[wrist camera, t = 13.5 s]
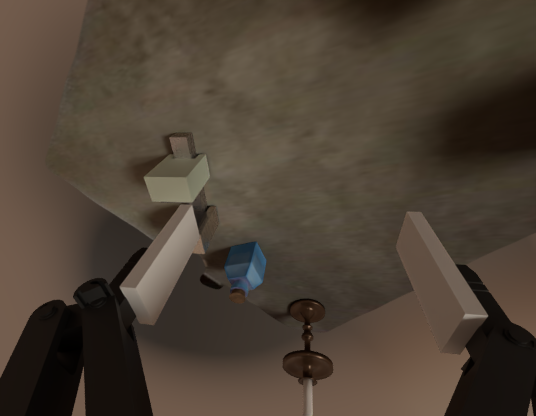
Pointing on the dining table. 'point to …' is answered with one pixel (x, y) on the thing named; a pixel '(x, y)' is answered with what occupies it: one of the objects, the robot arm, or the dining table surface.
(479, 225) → the dining table surface
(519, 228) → the dining table surface
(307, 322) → the candlestick
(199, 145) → the dining table surface
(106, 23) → the dining table surface
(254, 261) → the perfume bottle
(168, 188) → the block
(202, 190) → the grey l-shaped piece
